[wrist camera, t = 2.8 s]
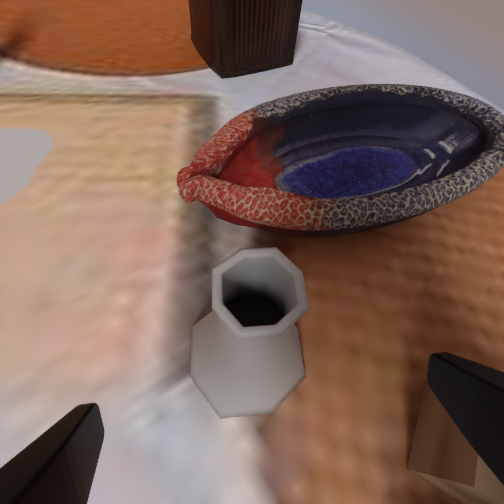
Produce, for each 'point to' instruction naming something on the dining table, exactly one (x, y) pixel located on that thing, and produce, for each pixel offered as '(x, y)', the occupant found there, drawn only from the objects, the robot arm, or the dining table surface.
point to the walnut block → (450, 457)
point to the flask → (250, 334)
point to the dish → (346, 158)
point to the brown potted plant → (244, 34)
